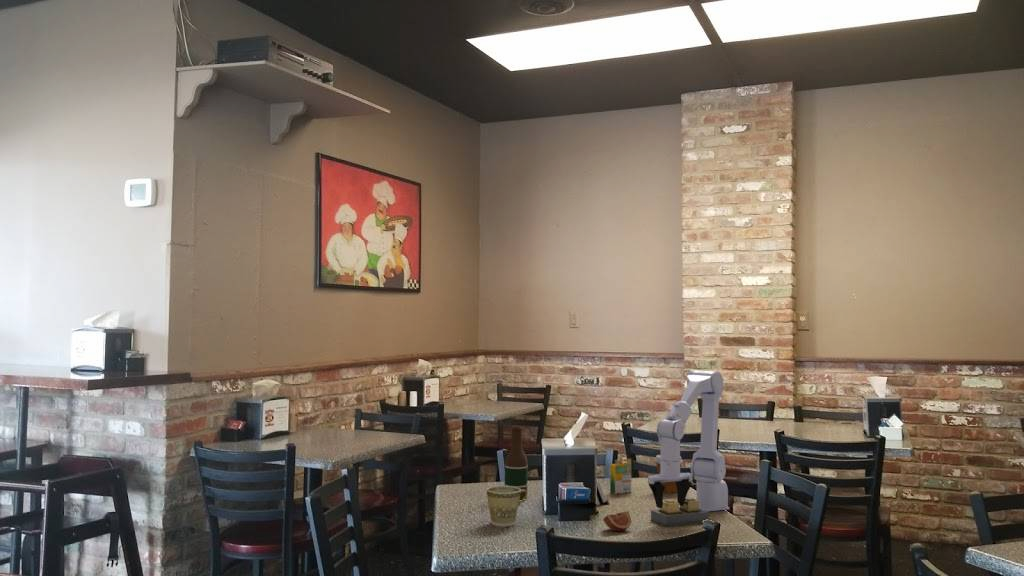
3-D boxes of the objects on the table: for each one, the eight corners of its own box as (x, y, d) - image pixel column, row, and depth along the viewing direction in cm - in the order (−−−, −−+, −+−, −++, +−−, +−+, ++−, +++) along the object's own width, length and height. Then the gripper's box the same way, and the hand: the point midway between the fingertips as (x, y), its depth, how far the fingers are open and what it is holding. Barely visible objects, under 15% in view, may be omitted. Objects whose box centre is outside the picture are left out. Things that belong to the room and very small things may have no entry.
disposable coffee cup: (651, 488, 283) (651, 454, 283) (677, 487, 284) (677, 454, 284) (659, 494, 273) (659, 459, 274) (686, 493, 274) (686, 458, 275)
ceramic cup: (497, 530, 225) (498, 494, 225) (479, 522, 233) (480, 488, 233) (535, 524, 232) (536, 489, 232) (517, 516, 240) (517, 483, 240)
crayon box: (626, 490, 279) (626, 457, 279) (631, 492, 276) (632, 458, 276) (609, 492, 275) (609, 458, 275) (615, 494, 272) (615, 460, 273)
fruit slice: (613, 535, 221) (613, 517, 221) (597, 529, 227) (597, 512, 227) (635, 531, 226) (635, 513, 226) (619, 525, 231) (619, 508, 232)
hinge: (610, 504, 258) (601, 475, 257) (598, 510, 256) (589, 481, 255) (587, 493, 273) (578, 466, 273) (575, 498, 272) (567, 471, 271)
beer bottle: (531, 498, 265) (532, 425, 266) (519, 502, 259) (520, 428, 259) (512, 495, 269) (513, 423, 270) (499, 499, 263) (500, 426, 264)
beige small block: (671, 520, 239) (671, 498, 239) (679, 523, 235) (679, 501, 235) (659, 521, 237) (660, 499, 237) (667, 524, 234) (667, 502, 234)
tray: (692, 515, 244) (692, 494, 244) (708, 522, 237) (708, 500, 237) (650, 520, 238) (651, 498, 238) (666, 526, 231) (666, 504, 231)
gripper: (682, 456, 243) (682, 501, 243) (642, 459, 237) (641, 505, 237) (696, 460, 237) (696, 506, 236) (655, 463, 231) (655, 510, 230)
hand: (670, 506), depth 236 cm, fingers open, 7 cm apart
